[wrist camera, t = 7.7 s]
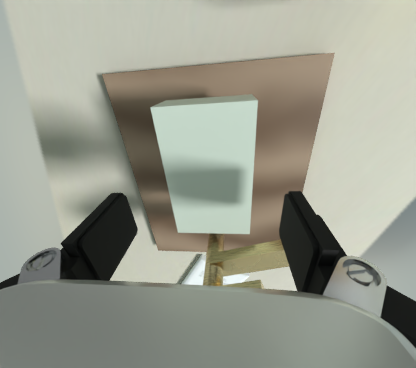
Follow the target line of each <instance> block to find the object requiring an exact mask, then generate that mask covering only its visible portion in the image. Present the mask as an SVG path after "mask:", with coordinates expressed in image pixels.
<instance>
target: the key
mask: <svg viewBox="0 0 416 368" xmlns="http://www.w3.org/2000/svg"><path fill="white" fill-rule="evenodd" d="M288 266H289V264H288V260H287V257H286V254H285V251H284V248H283V245H282V242H281V239H280V240H275V241H270V242H265V243H260V244H255V245H250V246H245V247H240V248H235V249H230V250H225V251H224V234H217V233H209V238H208V246H207V254H206V262H205V271H204V279H203V285H207V286H226V287H244V288H260V289H264V286H263V284H262V282H261V280H256V281H249V282H242V283H235V284H228V285H223V277H225V276H231V275H237V274H244V273H250V272H256V271H263V270H269V269H275V268H281V267H288Z"/></svg>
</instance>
